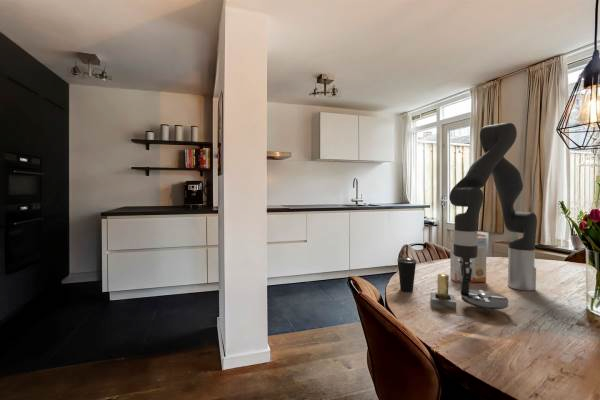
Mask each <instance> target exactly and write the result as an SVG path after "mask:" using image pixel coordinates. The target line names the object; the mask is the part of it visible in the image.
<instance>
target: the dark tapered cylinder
mask: <svg viewBox="0 0 600 400" xmlns="http://www.w3.org/2000/svg"><path fill="white" fill-rule="evenodd" d="M417 262H418V261H417V260H416V259H415V258H413V257H410V256H409V245H408V244H407V245H406V246H405V256H403V257H400V258H398V259H397V265H398V276H399V287H400V291H402V292H405V293H412V292H414V285H415V274H416V265H417Z"/></svg>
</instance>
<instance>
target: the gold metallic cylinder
mask: <svg viewBox="0 0 600 400" xmlns="http://www.w3.org/2000/svg"><path fill="white" fill-rule="evenodd" d="M449 280H450V278H449V275H448V274H445V273H438V274H437V293H438V299H446V300H448V294H449V288H450V286H449V285H450V284H449Z"/></svg>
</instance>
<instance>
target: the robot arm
mask: <svg viewBox="0 0 600 400" xmlns="http://www.w3.org/2000/svg"><path fill="white" fill-rule="evenodd" d="M517 134H518V132H517V127H516V125H515V124H514V123H512V122H502V123H494V124H488V125H485V126H483V127H482V128H481V129H480V132H479V140H480V144H481V147H482V150H483V152H484V153H483V154H482V155H481V156H479V157H478V158H477V159H475V160H474V162H472V164H471V165H470V167H469V169H468V171H467V172H466V174H465V176H464V177H463V178H461V179H460V180H459V181H458V182H457V183H456V184H455V185H454V186H453V187H452V189H451V191H450V193H449V197H448V198H449V202H450V204H451V205H453V206H454V207H463V208H464V207H465V208H467V209H466V211H465V212H461V213H456V214H455V216H454V229H453V230H454V231H453V232H454V233H453V236H454V245H453V254H454V255H455V256H457V257H460V260H458V264H459V275H460V279H461V277H462V279H461V281H462V292H463V293H469V290H470V283H472V282H471V274H472V263H471V261H470V258H476V257H477V254H478V236H479V235H478V219H479V215H480V211H481V209H482V206H483V202H484V198H485V197H484V196H485V195H484V191H482V189H481V188H484V186H485V185H486V184H487V182H488V180H489V178H490V177H491V175H492V178H493V182H494V186H495V189H496V191H497V195H498V199H499V202H500V206H501V210H502V212H501V213H502V218H503V223H504V226H505V229H506V230H507V231H508V232H511V233H519V234H523V236H522V237H521V238H518V239H512V240H509V242H508V249H507V250H508V255H507V256H508V257H507V258H508V259H507V261H508V263H507V287H509V288H512V289H514V290H517V291H527V292H529V291H537V268H536V267H535V262H536V261H535V259H536V257H535V255H536V242H537V230H538V228H537V227H538V217H537V215H536V213H535V212H531V211H516V210H515V208H514V205H515V202H516V201H517V199H518V197H519V196H520V195H521V193H522V191H523V187H524V183H523V180H522V175H521V172H520V170H519V169H518V168H517V167H516V166H515V165H513V163H512V162H510V160H508V159H507V158H505V157H504V156H505V155H506V154H507V152H508V151H509V150H510V149H512V147H513V145H514V143H515V142H516V140H517ZM465 277H468V279H467V278H465Z"/></svg>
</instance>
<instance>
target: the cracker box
mask: <svg viewBox="0 0 600 400" xmlns="http://www.w3.org/2000/svg"><path fill="white" fill-rule="evenodd" d="M477 236H478V254H477V257H476V258H470V261H471V263H472V274H471V282H470V283H487V237H484V236H482V235H477ZM449 238H450V239H449V241H450V246H449V247H450V262H449V263H450V268H449V269H450V273H449V274H450V280H452V281H453V282H456V283H461V279H460V275H459V264H458V260H460V257H457V256H455V255H454V254H453V245H454V235H451V236H450V237H449Z"/></svg>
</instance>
